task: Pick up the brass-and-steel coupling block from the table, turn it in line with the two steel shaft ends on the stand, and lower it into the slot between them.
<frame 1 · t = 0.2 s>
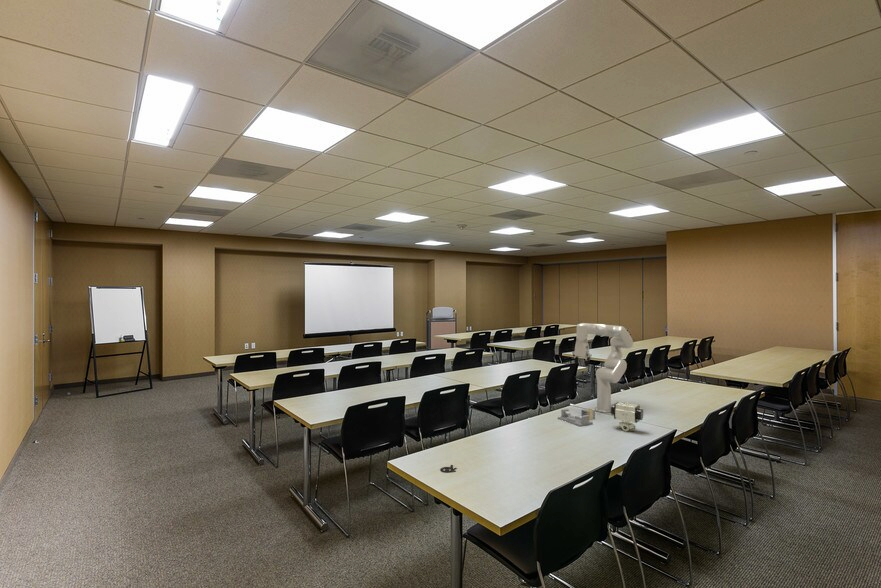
hand: (581, 365, 302), 36 cm above the table, tool pointing down, fingers open, 9 cm apart
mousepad: (452, 468, 208), on the table
shaft stand: (574, 421, 287), on the table
ball valve: (626, 430, 269), on the table
coupler: (588, 418, 293), on the table
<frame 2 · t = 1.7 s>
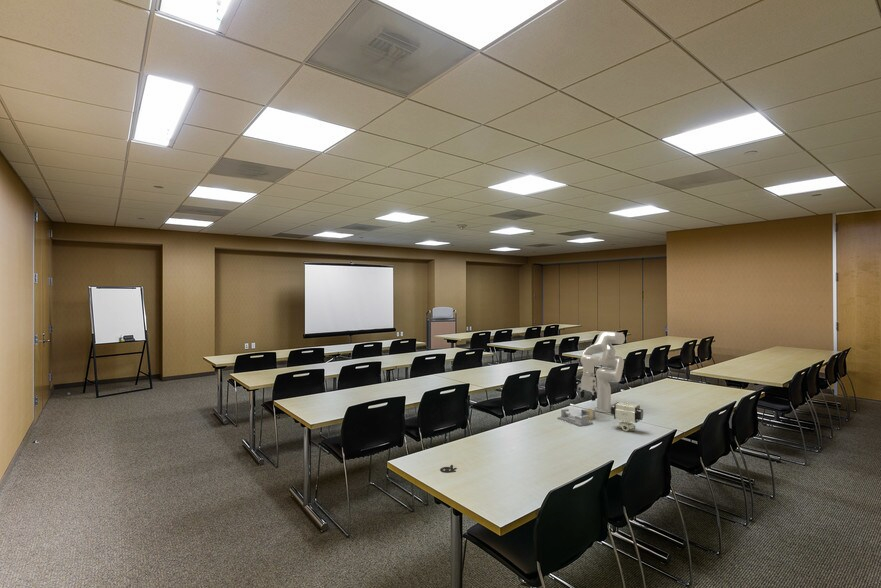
hand: (587, 399, 293), 14 cm above the table, tool pointing down, fingers open, 9 cm apart
nothing on the table moved.
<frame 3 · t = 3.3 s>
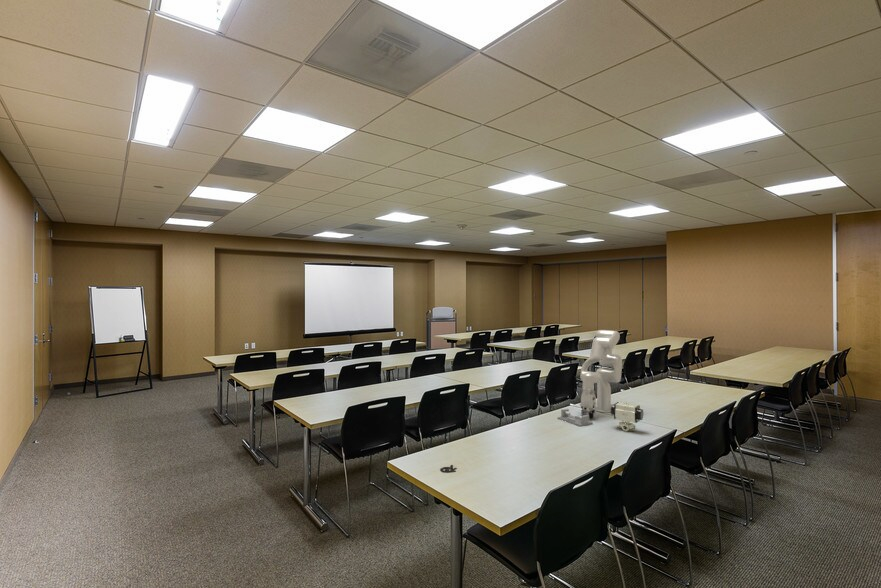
hand: (588, 417, 293), 1 cm above the table, tool pointing down, fingers closed on coupler, 5 cm apart
coupler: (588, 418, 293), on the table, touching gripper
everything else where it was.
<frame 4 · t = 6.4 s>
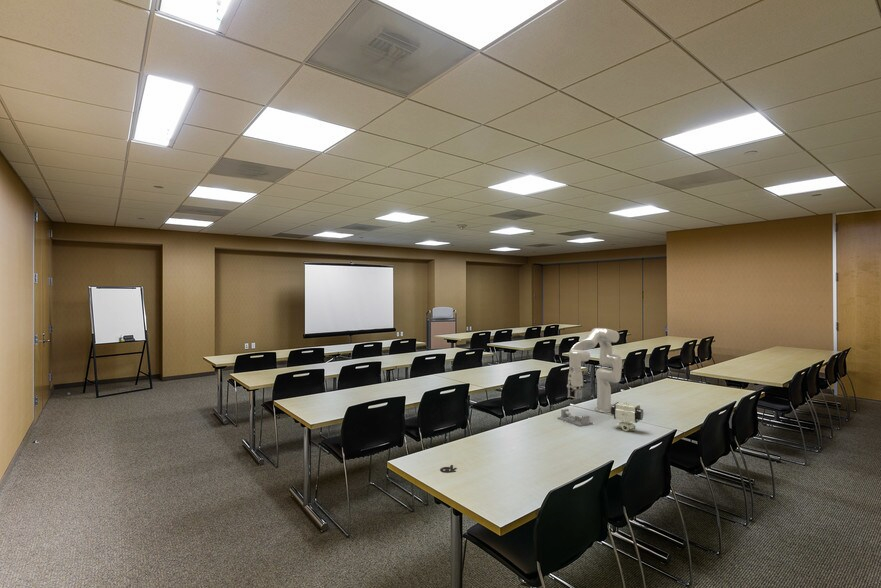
hand: (575, 395, 287), 17 cm above the table, tool pointing down, fingers closed on coupler, 5 cm apart
coupler: (575, 397, 287), point 16 cm above the table, touching gripper
everything else where it was.
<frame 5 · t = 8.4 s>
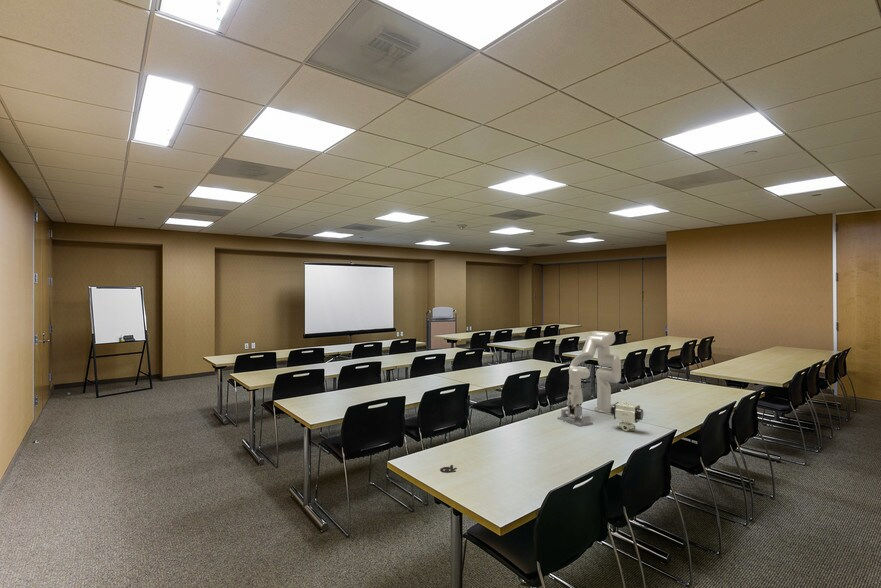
hand: (574, 413, 286), 5 cm above the table, tool pointing down, fingers closed on coupler, 5 cm apart
coupler: (574, 414, 286), point 5 cm above the table, touching gripper
everything else where it was.
when the fingers open (3 cm above the table, at t = 9.7 s): coupler drops 1 cm, resting on shaft stand.
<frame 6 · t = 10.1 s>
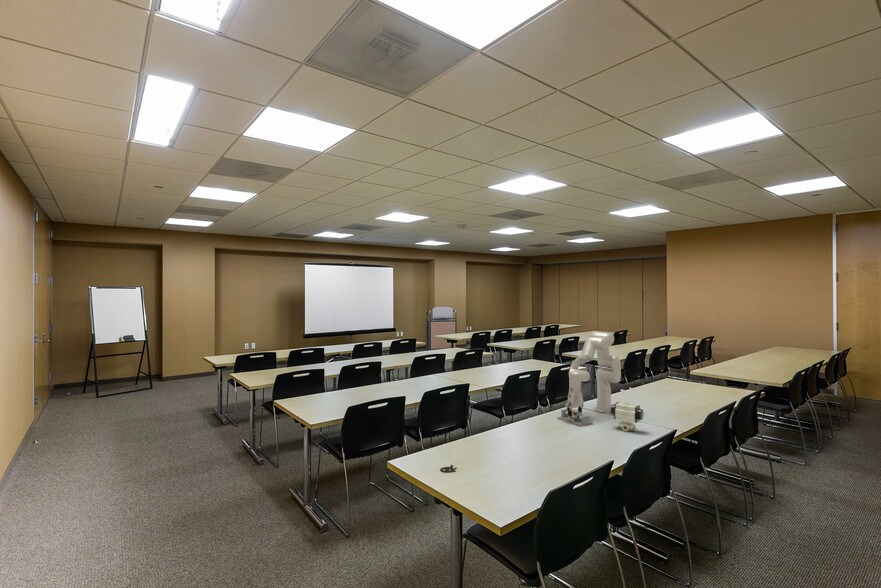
hand: (574, 415, 287), 4 cm above the table, tool pointing down, fingers open, 9 cm apart
coupler: (574, 419, 287), point 1 cm above the table, touching shaft stand
everything else where it was.
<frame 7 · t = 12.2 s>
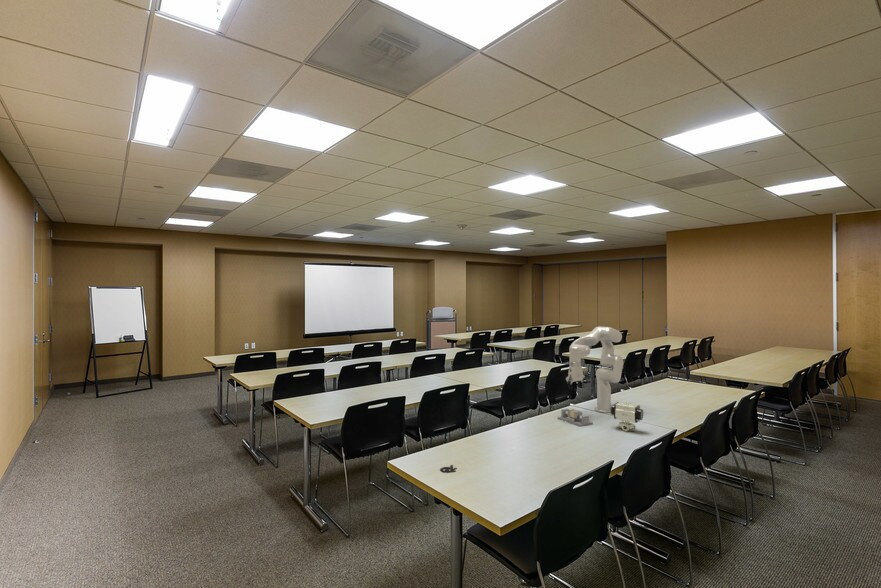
hand: (575, 388, 291), 21 cm above the table, tool pointing down, fingers open, 9 cm apart
nothing on the table moved.
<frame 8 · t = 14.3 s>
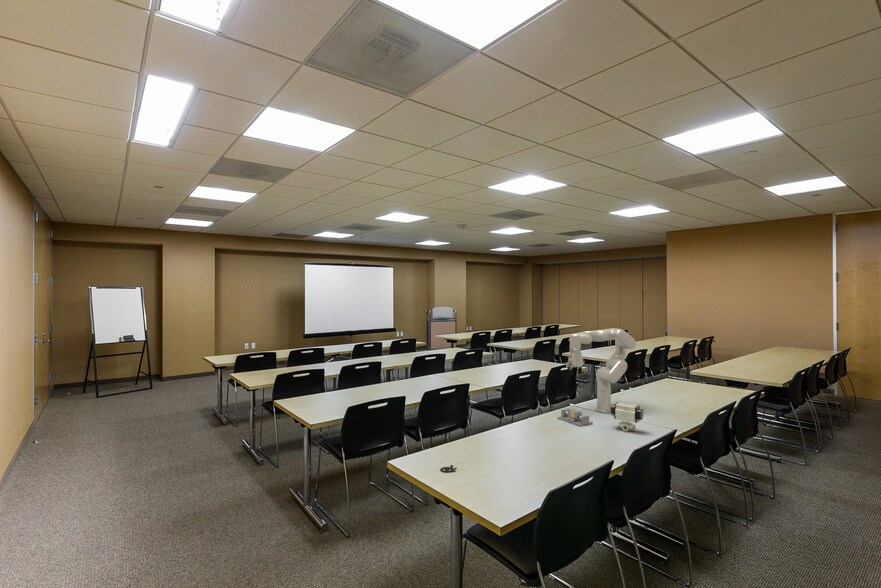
hand: (575, 374, 306), 28 cm above the table, tool pointing down, fingers open, 9 cm apart
nothing on the table moved.
at the end: coupler 0.1 cm off-centre on the shaft stand, point 1.0 cm above the shaft stand's base; coupler tilted 0°; the gripper is holding nothing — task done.
